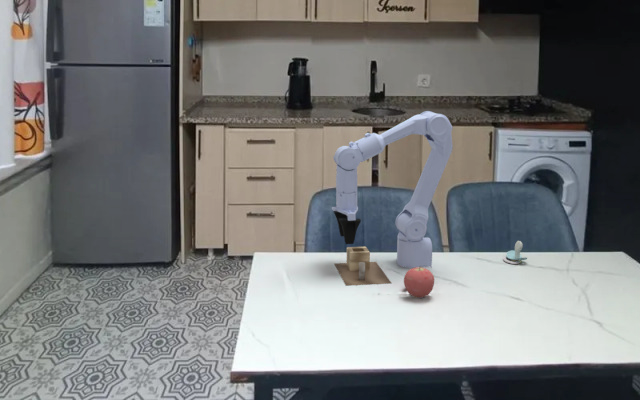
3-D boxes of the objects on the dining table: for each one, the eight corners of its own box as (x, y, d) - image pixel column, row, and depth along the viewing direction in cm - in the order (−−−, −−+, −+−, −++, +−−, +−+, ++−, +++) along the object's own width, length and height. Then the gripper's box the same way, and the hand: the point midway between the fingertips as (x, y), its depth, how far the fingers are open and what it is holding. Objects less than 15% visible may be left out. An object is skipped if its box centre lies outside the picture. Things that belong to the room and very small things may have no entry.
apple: (410, 289, 173) (411, 259, 172) (437, 294, 170) (439, 264, 168) (398, 298, 167) (399, 267, 165) (426, 303, 163) (427, 272, 162)
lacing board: (375, 266, 191) (376, 246, 190) (391, 288, 174) (392, 266, 172) (334, 268, 189) (334, 248, 188) (345, 291, 172) (345, 268, 171)
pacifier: (510, 266, 192) (529, 264, 193) (510, 245, 190) (530, 243, 191) (498, 259, 199) (517, 257, 200) (499, 238, 197) (518, 237, 198)
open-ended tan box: (365, 263, 189) (365, 246, 188) (369, 269, 184) (369, 252, 183) (346, 264, 188) (346, 247, 187) (350, 270, 183) (350, 253, 182)
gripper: (327, 186, 187) (328, 233, 190) (336, 197, 173) (336, 248, 176) (352, 185, 188) (352, 232, 191) (363, 196, 174) (363, 246, 177)
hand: (346, 239), depth 184 cm, fingers open, 7 cm apart
